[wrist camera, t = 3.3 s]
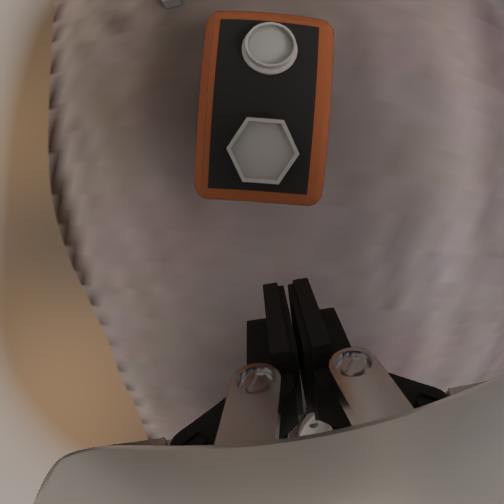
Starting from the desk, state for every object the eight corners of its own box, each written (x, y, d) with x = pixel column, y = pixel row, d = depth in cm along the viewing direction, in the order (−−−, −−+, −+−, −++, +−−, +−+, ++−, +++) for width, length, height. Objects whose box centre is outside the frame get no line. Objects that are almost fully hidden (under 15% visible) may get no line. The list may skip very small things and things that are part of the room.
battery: (219, 172, 19) (186, 206, 9) (226, 65, 16) (202, -4, 7) (290, 177, 19) (329, 216, 9) (298, 71, 16) (344, 8, 7)
